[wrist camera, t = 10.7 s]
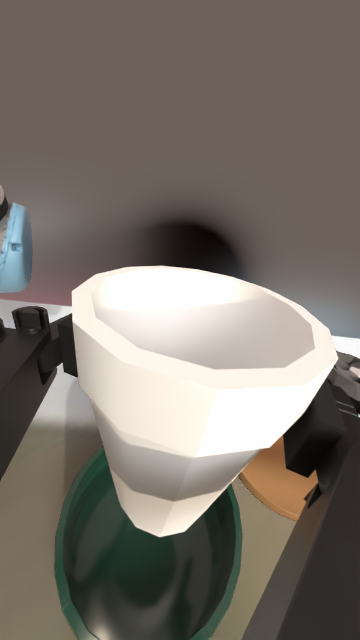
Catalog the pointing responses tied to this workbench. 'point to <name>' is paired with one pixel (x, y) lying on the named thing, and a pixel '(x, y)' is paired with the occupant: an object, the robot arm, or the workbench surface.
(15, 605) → the workbench surface
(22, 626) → the workbench surface
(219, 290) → the foam cup
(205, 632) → the pot
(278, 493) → the pot holder
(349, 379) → the cpu cooler
